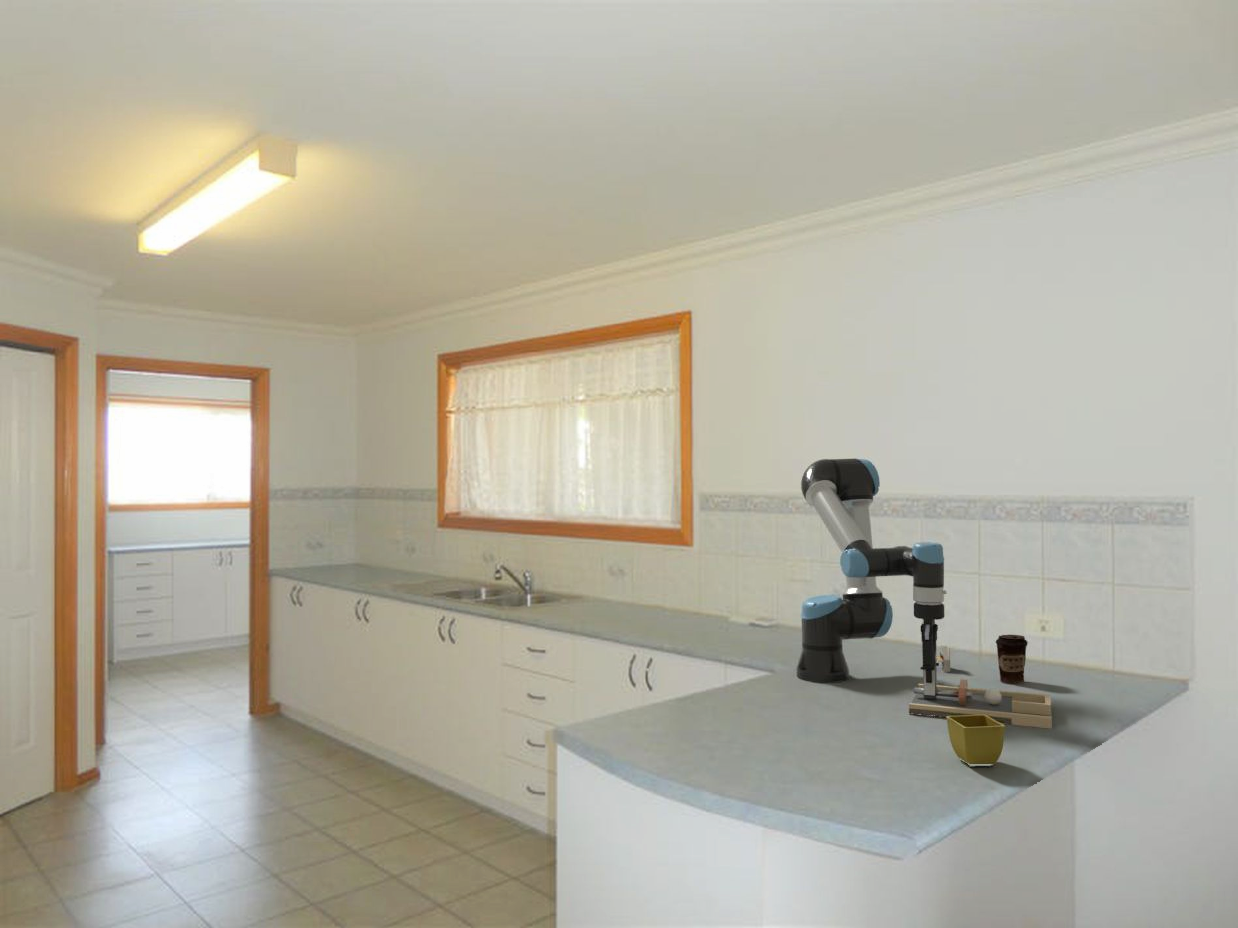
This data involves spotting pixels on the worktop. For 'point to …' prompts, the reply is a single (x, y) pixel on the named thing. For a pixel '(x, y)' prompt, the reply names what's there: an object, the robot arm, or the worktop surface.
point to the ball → (993, 696)
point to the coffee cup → (1011, 658)
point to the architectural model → (945, 658)
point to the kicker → (960, 694)
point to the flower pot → (976, 738)
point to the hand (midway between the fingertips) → (930, 692)
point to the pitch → (989, 707)
